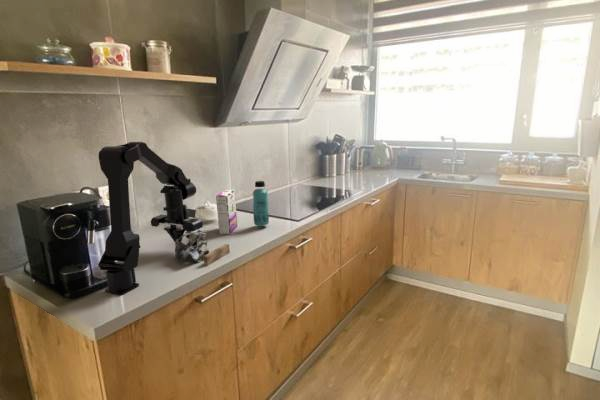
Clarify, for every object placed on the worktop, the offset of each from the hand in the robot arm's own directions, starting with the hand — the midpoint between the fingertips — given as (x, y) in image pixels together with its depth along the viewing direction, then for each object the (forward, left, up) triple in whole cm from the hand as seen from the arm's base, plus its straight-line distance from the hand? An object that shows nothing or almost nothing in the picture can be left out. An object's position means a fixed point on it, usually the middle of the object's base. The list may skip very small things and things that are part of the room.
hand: (178, 245), depth 128 cm
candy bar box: (+27, -2, -3) cm, 27 cm away
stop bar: (0, -17, -2) cm, 17 cm away
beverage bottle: (+36, -13, -3) cm, 38 cm away
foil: (-2, -8, -2) cm, 8 cm away
